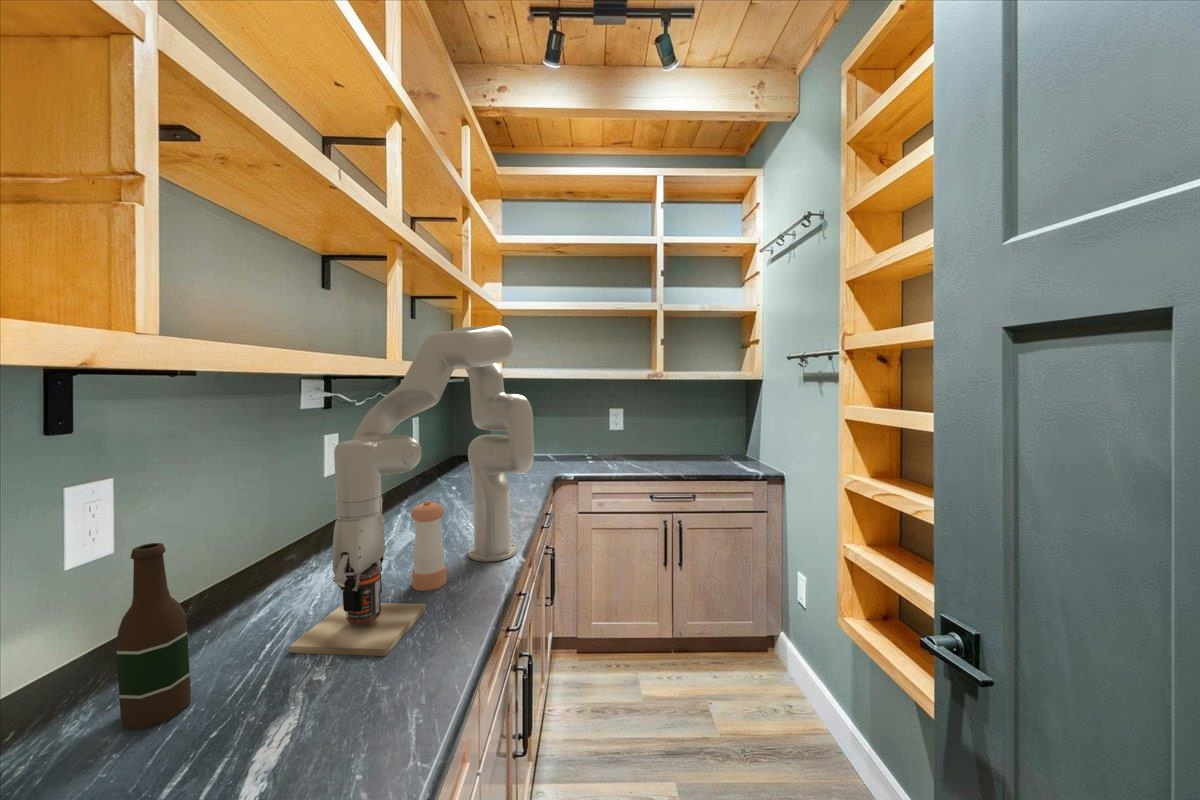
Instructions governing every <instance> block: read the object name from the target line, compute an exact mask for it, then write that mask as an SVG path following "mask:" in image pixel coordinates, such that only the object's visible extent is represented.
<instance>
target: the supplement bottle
mask: <svg viewBox="0 0 1200 800" xmlns="http://www.w3.org/2000/svg"><path fill="white" fill-rule="evenodd" d="M349 572H354V569H349ZM380 573H381V572H380V570H379V568H378V567H377V566H375V565H374V563H372V565H371V566H370V567H369V568H367V569H366V570H365V571H363V572H362V573H361V578H360V584H359V589H361V591H362V610H361V611H360V612H347V611H346V620H347V621H348V622H349V623H352V624H363V623H367V622H370V621H372V620H374V619H376V618H377V617H378V616H379V615H380V613H381V603H382V596H381V594H382V592H381V591H380ZM348 580H351V581H352V582H354V576H349V579H348Z"/></svg>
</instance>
